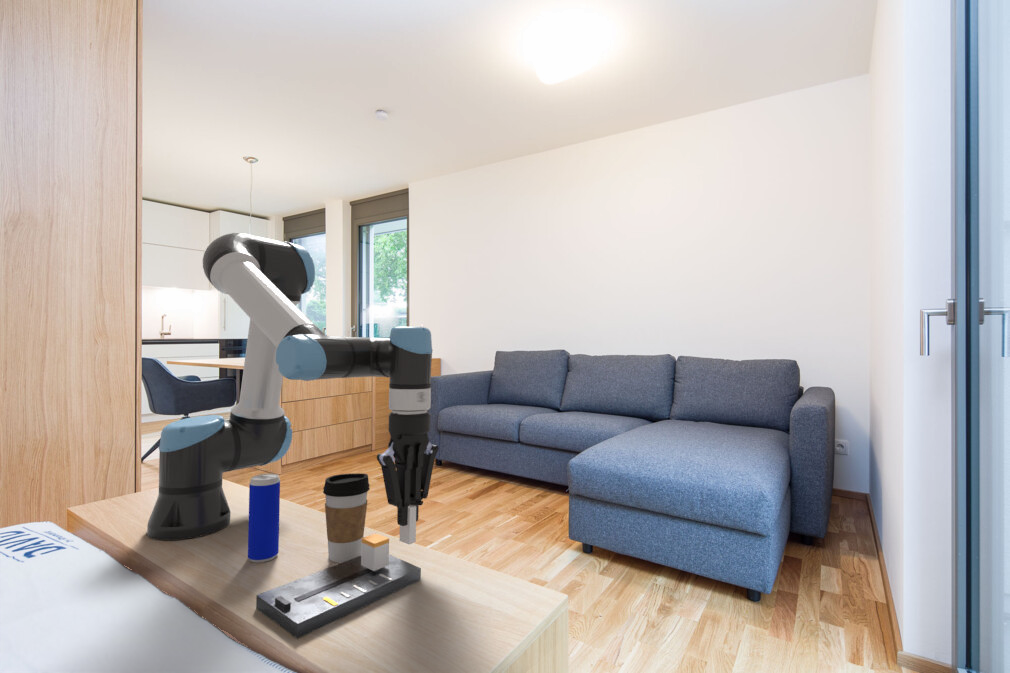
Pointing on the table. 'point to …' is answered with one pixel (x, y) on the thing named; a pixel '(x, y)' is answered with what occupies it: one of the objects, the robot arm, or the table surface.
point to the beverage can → (263, 517)
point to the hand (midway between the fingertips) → (407, 541)
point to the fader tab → (375, 551)
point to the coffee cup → (345, 514)
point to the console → (333, 594)
